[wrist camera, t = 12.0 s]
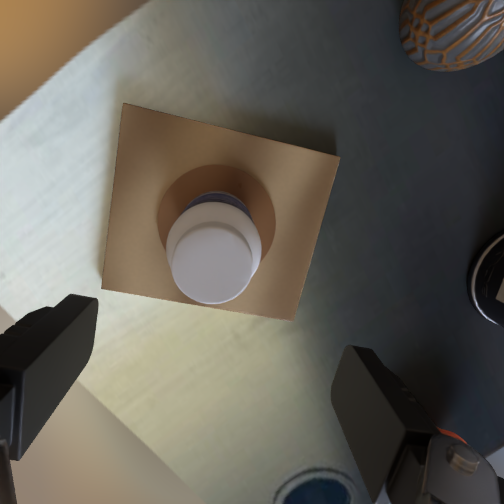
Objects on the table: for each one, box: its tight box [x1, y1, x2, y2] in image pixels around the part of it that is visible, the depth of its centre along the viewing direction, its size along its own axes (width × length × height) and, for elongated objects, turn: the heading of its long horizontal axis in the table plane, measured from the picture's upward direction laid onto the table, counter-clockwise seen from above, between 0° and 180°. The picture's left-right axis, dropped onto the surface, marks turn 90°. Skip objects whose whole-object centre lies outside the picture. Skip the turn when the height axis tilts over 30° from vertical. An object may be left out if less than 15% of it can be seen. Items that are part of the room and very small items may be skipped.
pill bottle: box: [166, 191, 261, 304], centre depth 20 cm, size 5×5×10 cm
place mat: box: [101, 103, 340, 322], centre depth 26 cm, size 16×14×1 cm
